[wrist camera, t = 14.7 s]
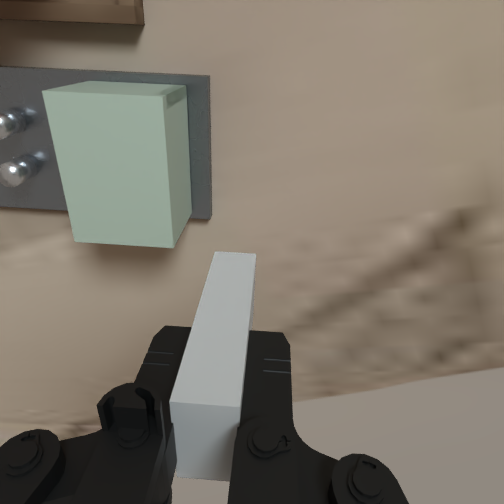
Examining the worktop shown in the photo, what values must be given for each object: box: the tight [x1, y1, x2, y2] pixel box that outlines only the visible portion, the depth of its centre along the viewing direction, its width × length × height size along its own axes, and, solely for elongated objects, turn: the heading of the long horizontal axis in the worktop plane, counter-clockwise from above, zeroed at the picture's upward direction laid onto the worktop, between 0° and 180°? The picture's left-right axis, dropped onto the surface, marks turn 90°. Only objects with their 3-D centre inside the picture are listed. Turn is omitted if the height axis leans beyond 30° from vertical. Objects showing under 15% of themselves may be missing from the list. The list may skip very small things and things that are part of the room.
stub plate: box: [0, 66, 212, 219], centre depth 29 cm, size 11×20×4 cm, turn 88°
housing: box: [42, 81, 192, 248], centre depth 27 cm, size 10×7×6 cm
